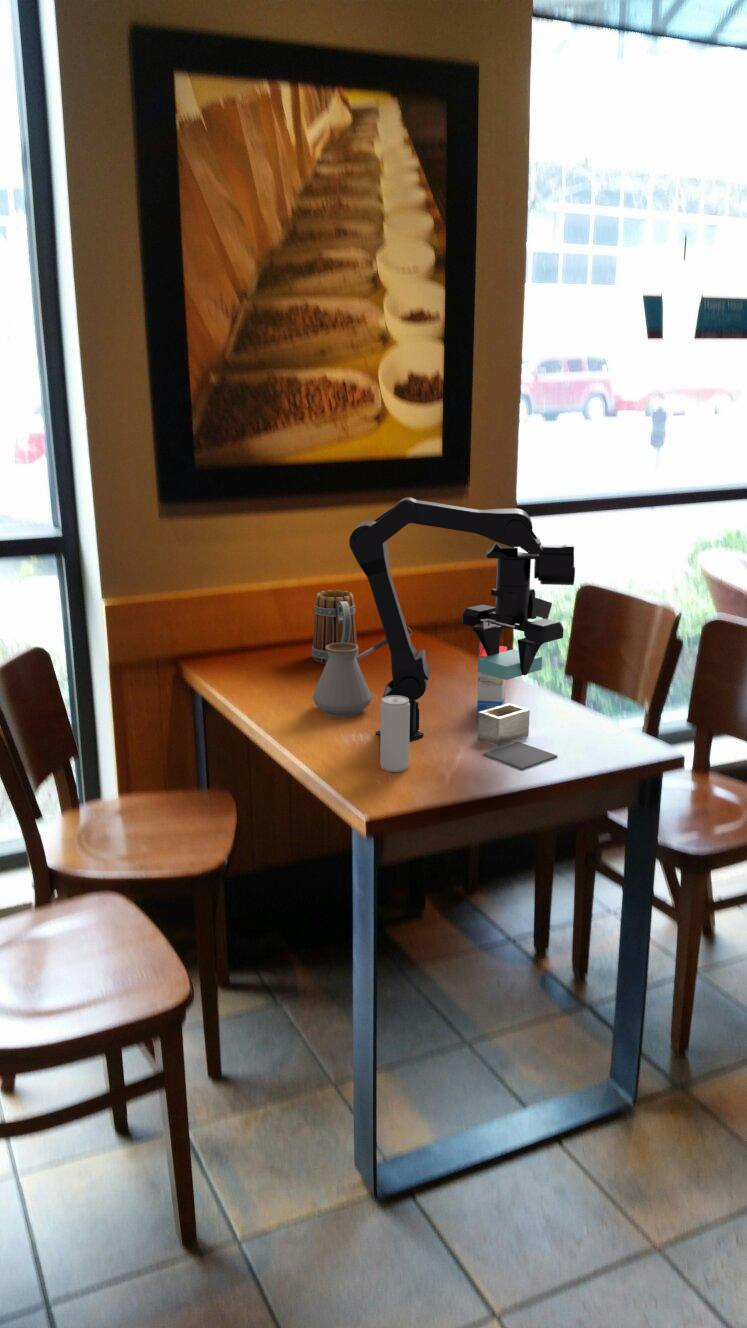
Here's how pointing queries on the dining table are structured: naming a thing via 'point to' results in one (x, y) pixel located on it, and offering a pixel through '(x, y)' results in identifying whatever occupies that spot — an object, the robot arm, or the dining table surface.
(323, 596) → the mug
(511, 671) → the lid
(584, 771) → the dining table surface
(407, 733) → the beverage can
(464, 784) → the dining table surface
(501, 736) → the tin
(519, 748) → the coaster
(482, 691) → the ink box
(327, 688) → the coffee pot
